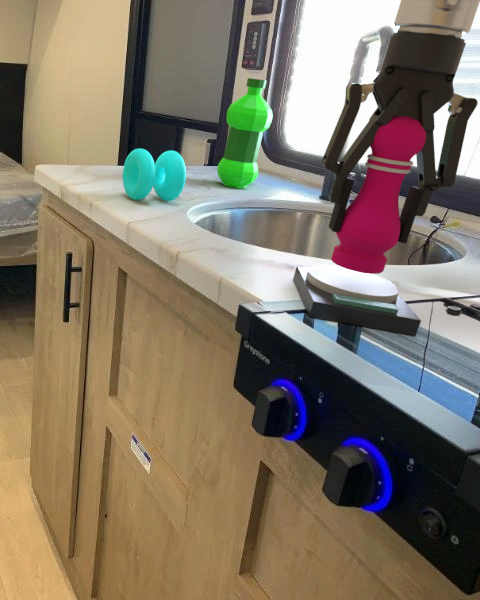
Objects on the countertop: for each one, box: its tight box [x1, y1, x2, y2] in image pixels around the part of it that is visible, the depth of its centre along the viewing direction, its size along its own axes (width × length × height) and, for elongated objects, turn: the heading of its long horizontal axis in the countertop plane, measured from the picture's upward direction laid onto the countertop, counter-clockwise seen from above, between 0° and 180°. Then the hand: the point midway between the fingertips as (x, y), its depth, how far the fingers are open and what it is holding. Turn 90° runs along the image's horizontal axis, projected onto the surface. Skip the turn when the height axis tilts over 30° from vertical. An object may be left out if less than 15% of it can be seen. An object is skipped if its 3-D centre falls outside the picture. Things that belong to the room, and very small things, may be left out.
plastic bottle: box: [216, 77, 273, 189], centre depth 144 cm, size 10×10×25 cm
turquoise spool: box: [122, 147, 187, 202], centre depth 119 cm, size 10×10×10 cm
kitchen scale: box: [292, 264, 422, 337], centre depth 76 cm, size 12×14×3 cm
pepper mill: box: [330, 116, 426, 275], centre depth 72 cm, size 7×7×20 cm
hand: (366, 234), depth 74 cm, fingers closed on pepper mill, 7 cm apart
